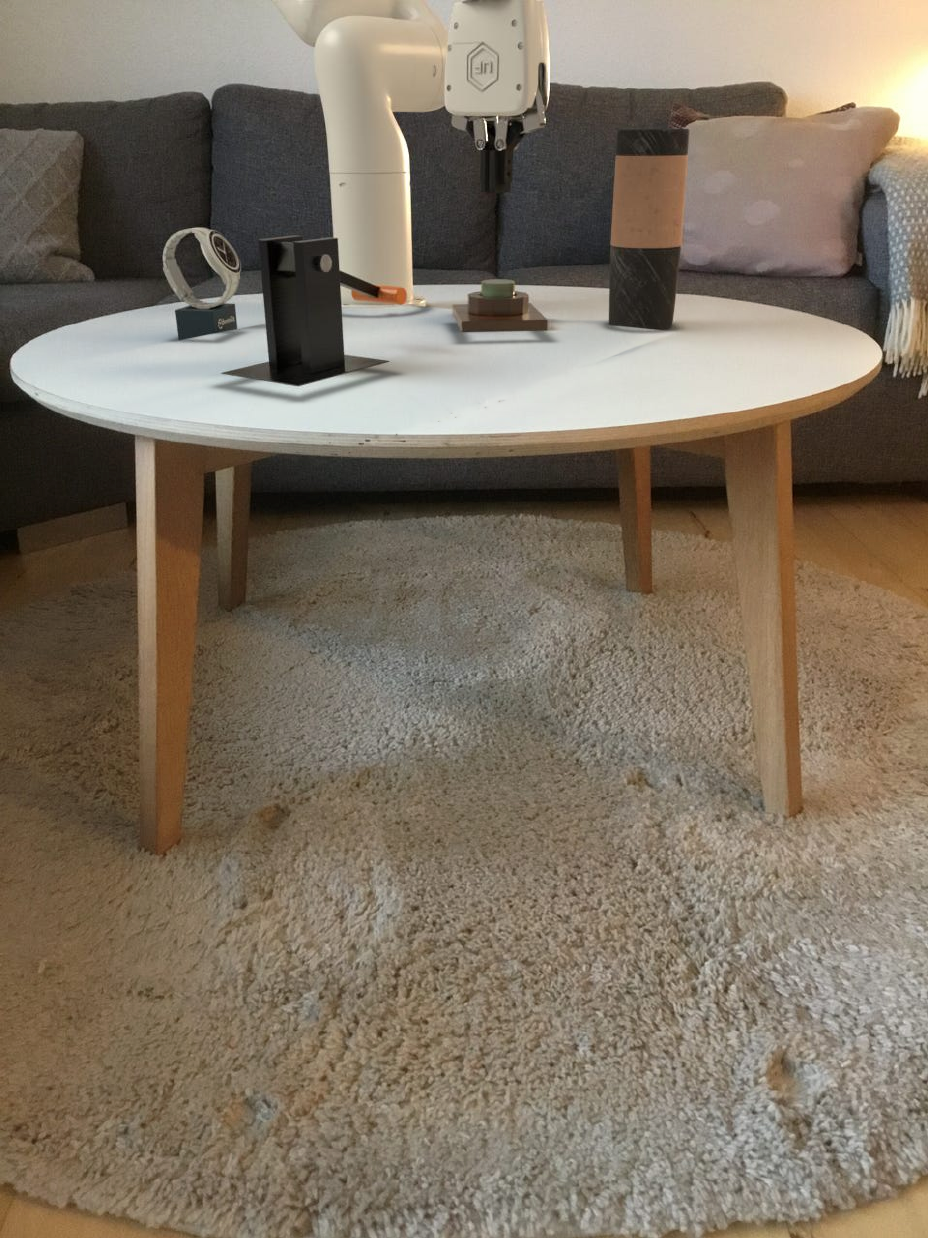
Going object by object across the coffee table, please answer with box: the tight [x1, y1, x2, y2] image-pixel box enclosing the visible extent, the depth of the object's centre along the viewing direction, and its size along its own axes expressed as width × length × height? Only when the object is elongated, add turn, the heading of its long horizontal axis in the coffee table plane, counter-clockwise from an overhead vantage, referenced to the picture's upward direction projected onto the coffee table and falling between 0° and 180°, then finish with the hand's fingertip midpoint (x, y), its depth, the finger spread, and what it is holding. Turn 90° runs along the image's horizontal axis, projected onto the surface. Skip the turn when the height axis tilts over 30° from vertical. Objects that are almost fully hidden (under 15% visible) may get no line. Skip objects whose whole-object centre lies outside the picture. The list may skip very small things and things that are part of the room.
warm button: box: [480, 278, 516, 297], centre depth 109 cm, size 4×4×2 cm
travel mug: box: [608, 128, 690, 331], centre depth 109 cm, size 8×8×20 cm
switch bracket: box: [220, 235, 390, 387], centre depth 87 cm, size 12×9×12 cm
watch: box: [162, 227, 242, 341], centre depth 107 cm, size 6×8×11 cm
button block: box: [451, 290, 549, 333], centre depth 110 cm, size 12×9×4 cm
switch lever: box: [277, 242, 407, 305], centre depth 90 cm, size 13×6×2 cm, turn 145°
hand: (496, 191), depth 105 cm, fingers closed
